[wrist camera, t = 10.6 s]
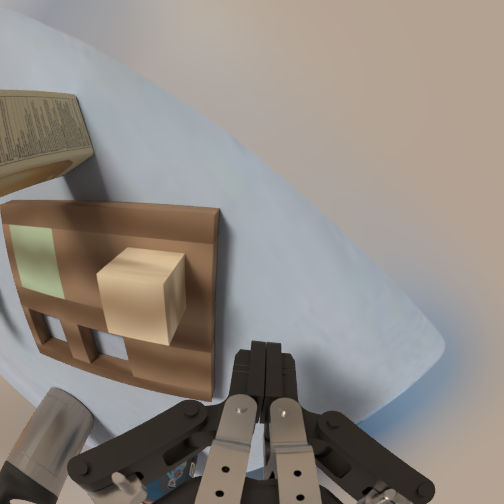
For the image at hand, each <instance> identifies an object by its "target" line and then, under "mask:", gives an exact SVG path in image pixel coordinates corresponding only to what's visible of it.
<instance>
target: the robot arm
mask: <svg viewBox="0 0 504 504" xmlns="http://www.w3.org/2000/svg"><path fill="white" fill-rule="evenodd" d="M259 417H260V423H263V424H264V433H263V455H264V474H263V480H260V481H259V480H255V479H251V478H248V477H245V475H246V469H247V464H248V459H249V453H250V447H251V441H252V435H253V433H254V429H255V424H256V423H258V421H259ZM93 422H94V418H93V416H92V414H91V413H90V412H89V410H88V409H87V408H86V407H85V406H84V405H83V404H81V403H80V402H79V401H78V400H77V399H75V398H74V397H72V396H71V395H69V394H68V393H66V392H64V391H62V390H60V389H58V388H51V389H50V390H49V391H48V393H47V394H46V396H45V397H44V399H43V400H42V402H41V403H40V405H39V406H38V408H37V409H36V411H35V412H34V414H33V415H32V417H31V418H30V420H29V422H28V423H27V425H26V426H25V428H24V430H23V431H22V433H21V435H20V436H19V438H18V440H17V441H16V443H15V445H14V447H13V449H12V450H11V452H10V454H9V456H8V458H7V461H5V463H4V465H3V467H2V469H1V471H0V504H10V500H12V499H21V500H26V501H29V502H33V503H36V504H56V502H57V500H58V497H59V494H60V492H61V490H62V487H63V485H64V482H65V480H66V478H67V476H68V474H69V476H70V477H71V479H72V480H73V481H75V482H76V483H77V484H78V485H79V486H80V487H81V488H82V489H84V490H85V491H86V492H87V493H88V494H89V496H90V497H91V499H92V500H93V502H94V503H95V504H140V503H142V502H143V501H144V500H145V499H146V496H147V490H146V487H145V486H146V485H148V484H149V483H151V482H153V481H155V480H156V479H158V478H160V477H162V476H163V475H165V474H167V473H168V472H170V471H171V470H173V469H175V468H176V467H178V466H179V465H181V464H183V463H184V462H186V461H187V460H189V459H190V458H192V457H193V456H195V455H196V454H198V453H199V452H201V451H202V450H204V449H205V448H206V447H207V446H211V448H210V452H209V455H208V459H207V462H206V466H205V469H204V473H203V476H198V477H195V478H192V479H189V480H187V481H185V482H183V483H182V484H180V485H179V486H177V487H176V488H174V489H173V490H171V491H170V492H168V493H167V494H165V495H164V496H162V497H161V498H159V499H158V500H156V501H154V502H153V503H151V504H343V503H342V502H341V501H340V500H339V499H338V498H337V497H335V496H334V495H333V494H332V493H331V492H330V491H329V490H328V489H326V488H325V487H323V486H321V485H319V483H318V476H317V470H316V466H318V468H320V469H321V470H322V471H323V472H324V473H325V474H326V475H327V476H328V477H330V478H331V479H332V480H333V481H334V482H335V483H337V484H338V485H339V486H340V487H341V488H342V489H343V490H345V491H346V492H347V493H348V494H349V495H351V496H352V497H353V498H354V499H355V500H357V501H358V502H357V504H427V503H428V502H430V501H431V500H432V498H433V497H434V494H435V486H434V484H433V482H432V481H430V480H429V479H428V478H426V477H425V476H423V475H422V474H420V473H419V472H417V471H416V470H415V469H413V468H412V467H410V466H409V465H408V464H406V463H405V462H403V461H402V460H401V459H399V458H398V457H397V456H395V455H394V454H393V453H391V452H390V451H389V450H387V449H386V448H384V447H383V446H382V445H381V444H379V443H378V442H377V441H376V440H374V439H373V438H371V437H370V436H369V435H368V434H366V433H365V432H364V431H363V430H362V429H360V428H359V427H358V426H357V425H355V424H354V423H353V422H352V421H351V420H349V419H348V418H347V417H346V416H344V415H343V414H342V413H340V412H337V411H328V412H325V413H323V414H322V415H319V414H315V413H312V412H309V411H307V410H305V409H304V408H303V407H302V406H301V405H300V404H299V402H298V396H297V382H296V370H295V360H294V359H293V357H292V356H291V354H288V353H281V343H273V342H267V343H266V342H261V341H252V343H251V350H242V349H240V350H239V352H238V353H237V354H236V355H235V360H234V366H233V372H232V379H231V385H230V391H229V395H228V397H227V399H226V400H225V401H223V402H222V403H220V404H217V405H210V406H204V405H203V404H202V403H201V402H199V401H196V400H184V401H182V402H180V403H178V404H176V405H175V406H173V407H171V408H170V409H168V410H166V411H164V412H163V413H161V414H159V415H157V416H156V417H154V418H152V419H150V420H148V421H146V422H145V423H143V424H141V425H139V426H137V427H135V428H133V429H131V430H129V431H128V432H126V433H124V434H122V435H120V436H118V437H116V438H114V439H112V440H109V441H107V442H105V443H103V444H101V445H99V446H97V447H95V448H92V449H90V450H88V451H86V452H84V453H81V454H80V452H81V450H82V448H83V446H84V444H85V442H86V440H87V438H88V436H89V434H90V432H91V430H92V428H93V425H92V424H93Z"/></svg>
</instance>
